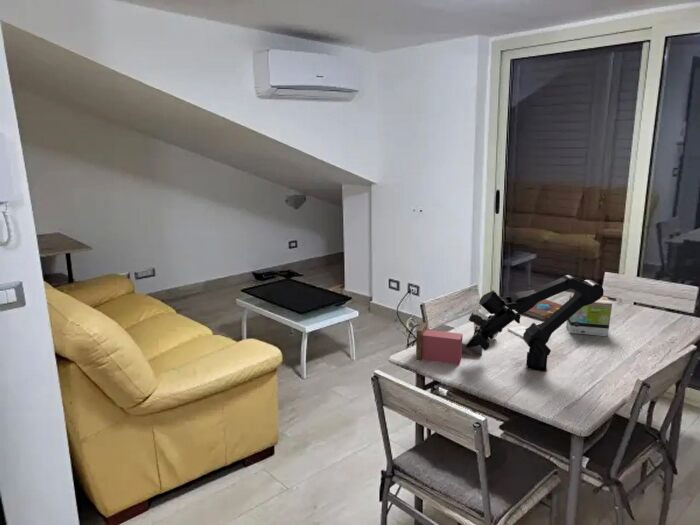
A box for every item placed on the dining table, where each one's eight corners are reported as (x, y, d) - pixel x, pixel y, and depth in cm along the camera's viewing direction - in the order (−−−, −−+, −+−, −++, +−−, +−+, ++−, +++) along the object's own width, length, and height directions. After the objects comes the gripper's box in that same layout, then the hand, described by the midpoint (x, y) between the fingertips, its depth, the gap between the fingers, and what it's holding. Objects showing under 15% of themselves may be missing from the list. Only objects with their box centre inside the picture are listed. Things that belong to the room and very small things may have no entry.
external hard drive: (526, 341, 212) (507, 331, 223) (542, 338, 214) (522, 328, 226) (526, 338, 211) (507, 327, 223) (542, 335, 214) (523, 325, 225)
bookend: (482, 354, 199) (483, 325, 196) (478, 368, 187) (480, 337, 184) (423, 347, 206) (423, 318, 203) (416, 360, 194) (416, 330, 192)
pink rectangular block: (461, 358, 196) (462, 333, 193) (459, 364, 190) (460, 339, 188) (425, 353, 200) (425, 329, 198) (421, 359, 195) (422, 335, 192)
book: (573, 312, 247) (574, 302, 246) (543, 324, 233) (545, 313, 231) (543, 302, 260) (544, 292, 258) (513, 312, 245) (514, 302, 244)
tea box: (569, 334, 218) (573, 300, 214) (566, 325, 227) (569, 293, 223) (608, 336, 214) (612, 303, 211) (603, 328, 224) (606, 295, 220)
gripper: (485, 296, 193) (455, 321, 200) (480, 313, 176) (447, 339, 183) (506, 318, 193) (475, 343, 199) (503, 337, 176) (469, 363, 182)
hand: (466, 346), depth 191 cm, fingers closed
